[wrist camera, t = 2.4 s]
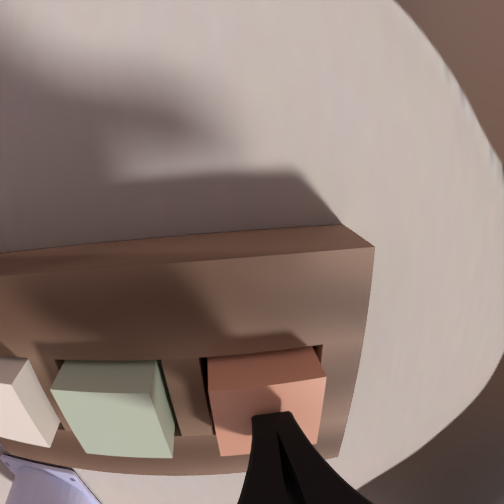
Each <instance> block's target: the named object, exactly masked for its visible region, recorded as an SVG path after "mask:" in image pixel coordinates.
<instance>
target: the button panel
mask: <svg viewBox="0 0 504 504" xmlns="http://www.w3.org/2000/svg"><path fill="white" fill-rule="evenodd" d="M374 251H375V247H374V246H373V245H372V244H370V243H369V242H367V241H366V240H365V239H363V238H362V237H360V236H359V235H357V234H356V233H355V232H353V231H352V230H350V229H349V228H347V227H346V226H345V225H343V224H340V225H323V226H307V227H291V228H276V229H262V230H248V231H234V232H221V233H208V234H195V235H183V236H171V237H159V238H147V239H136V240H125V241H114V242H104V243H93V244H83V245H73V246H63V247H54V248H44V249H35V250H26V251H17V252H8V253H0V355H1V356H12V357H24V358H28V359H29V361H30V364H31V366H32V368H33V370H34V372H35V374H36V376H37V379H38V381H39V383H40V385H41V387H42V389H43V391H44V393H45V394H46V396H47V398H48V400H49V402H50V404H51V406H52V408H53V409H54V411H55V413H56V415H57V417H58V418H59V420H60V423H59V426H58V428H57V431H56V434H55V436H54V439H53V441H52V444H51V447H50V448H48V447H43V446H38V445H33V444H28V443H23V442H19V441H15V440H11V439H7V438H3V437H0V442H1V443H2V444H3V446H4V447H5V448H6V450H7V451H8V452H9V453H10V454H12V455H16V456H19V457H23V458H27V459H32V460H36V461H41V462H45V463H50V464H55V465H61V466H67V467H73V468H79V469H86V470H94V471H102V472H112V473H123V474H138V475H166V476H186V475H214V474H230V473H241V472H247V468H248V463H249V457H250V454H244V455H233V456H221V455H220V450H219V446H218V441H217V436H216V431H215V425H214V420H213V415H212V409H211V404H210V398H209V393H208V368H207V362H206V357H216V356H228V355H239V354H250V353H259V352H268V351H277V350H285V349H293V348H300V347H307V346H312V347H313V349H314V351H315V353H316V355H317V357H318V360H319V362H320V364H321V366H322V368H323V370H324V372H325V374H326V376H327V378H326V385H325V393H324V400H323V407H322V414H321V420H320V426H319V433H318V439H317V444H313V446H314V447H315V449H316V450H317V451H318V452H319V454H320V455H321V456H322V457H323V458H324V460H325V459H330V458H334V457H338V454H339V451H340V447H341V443H342V440H343V436H344V432H345V428H346V424H347V419H348V415H349V411H350V407H351V402H352V397H353V393H354V388H355V383H356V378H357V373H358V368H359V362H360V357H361V351H362V345H363V339H364V333H365V327H366V320H367V313H368V306H369V298H370V290H371V281H372V272H373V262H374ZM65 360H95V361H127V360H161V363H162V367H163V371H164V375H165V378H166V382H167V386H168V390H169V393H170V397H171V401H172V404H173V408H174V411H175V414H176V416H175V430H174V445H173V458H139V457H121V456H108V455H98V454H89V453H86V452H85V450H84V449H83V447H82V446H81V444H80V442H79V441H78V439H77V438H76V436H75V434H74V433H73V431H72V429H71V428H70V426H69V424H68V422H67V421H66V419H65V417H64V415H63V413H62V412H61V410H60V408H59V406H58V404H57V402H56V400H55V399H54V397H53V395H52V393H51V391H50V388H51V386H52V384H53V382H54V380H55V378H56V376H57V374H58V372H59V371H60V369H61V367H62V365H63V363H64V361H65Z"/></svg>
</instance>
